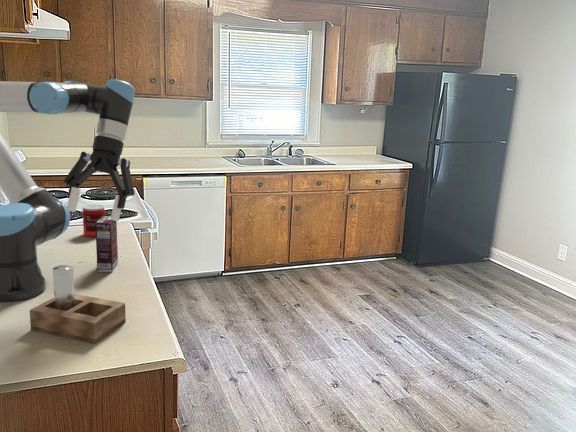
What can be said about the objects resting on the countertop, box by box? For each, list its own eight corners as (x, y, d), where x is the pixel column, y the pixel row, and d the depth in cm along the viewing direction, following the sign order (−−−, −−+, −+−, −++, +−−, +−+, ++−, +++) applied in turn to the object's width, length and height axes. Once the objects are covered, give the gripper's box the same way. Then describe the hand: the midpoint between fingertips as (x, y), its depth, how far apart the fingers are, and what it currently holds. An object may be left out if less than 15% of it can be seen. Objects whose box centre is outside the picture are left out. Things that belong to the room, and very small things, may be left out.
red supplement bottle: (97, 230, 204) (96, 203, 201) (109, 235, 199) (108, 207, 196) (79, 234, 198) (78, 206, 195) (90, 238, 193) (89, 210, 190)
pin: (51, 321, 125) (48, 269, 121) (64, 313, 129) (61, 264, 126) (67, 324, 123) (64, 272, 120) (79, 317, 127) (77, 266, 124)
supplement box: (103, 263, 168) (101, 215, 165) (118, 263, 169) (117, 216, 165) (96, 272, 160) (94, 222, 156) (112, 272, 161) (111, 223, 157)
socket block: (30, 329, 122) (29, 310, 121) (65, 310, 133) (64, 291, 132) (95, 343, 117) (94, 322, 116) (125, 322, 128) (125, 303, 127)
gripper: (157, 148, 140) (140, 225, 139) (79, 135, 147) (62, 209, 145) (143, 141, 133) (125, 222, 131) (61, 128, 139) (43, 206, 138)
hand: (92, 216), depth 138 cm, fingers open, 13 cm apart
